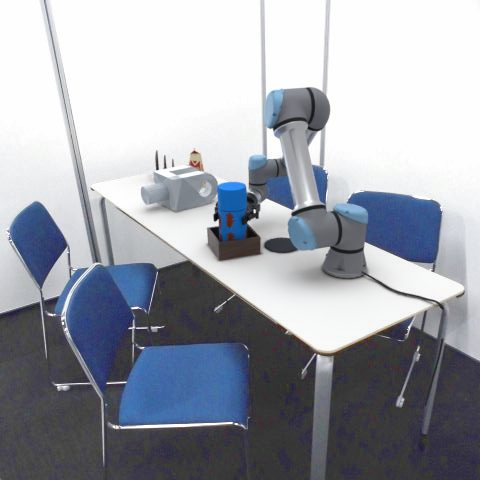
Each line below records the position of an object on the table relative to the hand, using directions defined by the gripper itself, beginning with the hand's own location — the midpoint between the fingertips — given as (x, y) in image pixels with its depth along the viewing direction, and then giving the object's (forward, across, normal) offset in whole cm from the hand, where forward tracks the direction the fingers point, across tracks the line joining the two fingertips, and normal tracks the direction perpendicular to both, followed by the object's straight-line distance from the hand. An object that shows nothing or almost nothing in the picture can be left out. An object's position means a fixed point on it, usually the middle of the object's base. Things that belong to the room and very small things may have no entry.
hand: (228, 219), depth 175 cm
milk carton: (-76, +51, -14) cm, 93 cm away
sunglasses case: (-42, +16, -14) cm, 47 cm away
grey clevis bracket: (-45, +46, -14) cm, 66 cm away
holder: (-4, 0, -14) cm, 14 cm away
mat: (-13, -17, -14) cm, 25 cm away
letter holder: (-84, +75, -14) cm, 113 cm away
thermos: (-4, 0, -14) cm, 14 cm away
